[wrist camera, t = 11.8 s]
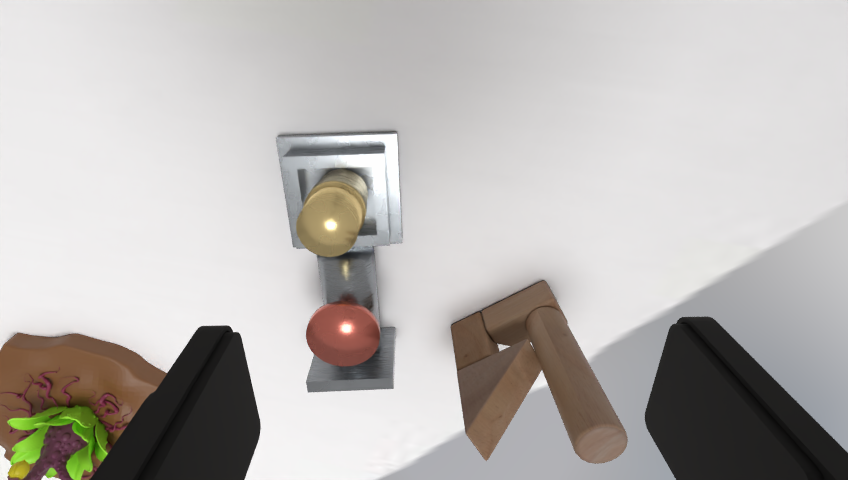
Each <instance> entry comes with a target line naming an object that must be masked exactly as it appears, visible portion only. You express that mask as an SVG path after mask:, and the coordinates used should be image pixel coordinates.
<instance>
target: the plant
mask: <svg viewBox="0 0 848 480" xmlns="http://www.w3.org/2000/svg"><path fill="white" fill-rule="evenodd" d="M166 375H167V373H165V372H163V371H162V370H160V369H158V368H156V367H154V366H153V365H151V364H149V363H148V362H147V361H145V360H144V359H143V358H142V357H141V356H140V355H138V354H137V353H135V352H133V351H131V350H129V349H127V348H125V347H122V346H120V345H117V344H113V343H109V342H105V341H102V340H98V339H95V338H91V337H88V336H84V335H80V334H69V335H66V336H62V337H42V336H33V335H27V334H23V333H17V334H16V335H14V336H13V337H12V338H11V339H10V340H8V341H7V342H6V343H5V344H4V345H3V347H2V349H1V350H0V445H1V446H2V447H3V448H5V450H6V452H5V455H4V457H5V458H6V459H8V460H9V461H11V462H10V463H11V465H12V466H11V468H10V470H9V472H8V475H9V476H8V480H41V479H42V477H43V476H44V475H45V476H46V477H47V478H51V477H55V478H59V479H61V480H90V479H91V477H92V476H93V474H94V473H95V472H96V470H97V469H98V467H99V466H100V464H101V463H102V461H103V460H104V458H105V457H106V456H107V454H108V453H109V451H110V450H111V448H112V447H113V445H114V444H115V443H116V441H117V440H118V438H119V437H120V435H121V434H122V432H123V431H124V430H125V428H126V427H127V425H128V424H129V422H130V421H131V419H132V418H133V417H134V415H135V414H136V412H137V411H138V409H139V408H140V406H141V405H142V404H143V402H144V401H145V399H146V398H147V397H148V396H149V395H150V394H151V393H153V392H154V391H156V389H157V388H158V386H159V385H160V383H161V382H162V380H163V379H164V378H165V376H166Z"/></svg>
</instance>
